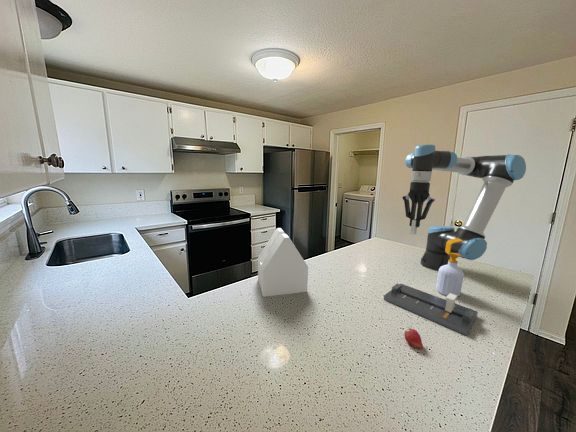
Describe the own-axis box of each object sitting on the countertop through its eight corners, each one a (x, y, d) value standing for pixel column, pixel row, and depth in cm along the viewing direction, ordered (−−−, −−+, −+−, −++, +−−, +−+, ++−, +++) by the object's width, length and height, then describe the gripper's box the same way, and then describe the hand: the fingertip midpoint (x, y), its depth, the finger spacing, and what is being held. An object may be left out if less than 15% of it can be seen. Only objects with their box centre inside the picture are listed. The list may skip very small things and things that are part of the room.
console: (400, 287, 107) (401, 279, 107) (476, 316, 87) (478, 306, 86) (383, 299, 97) (384, 290, 96) (466, 335, 77) (468, 324, 76)
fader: (447, 306, 89) (449, 292, 88) (454, 308, 87) (457, 295, 86) (443, 310, 86) (445, 297, 85) (451, 313, 84) (453, 300, 83)
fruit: (416, 352, 69) (418, 337, 68) (399, 339, 74) (401, 325, 73) (426, 348, 71) (428, 334, 70) (409, 335, 76) (411, 322, 75)
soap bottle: (464, 298, 99) (474, 243, 94) (440, 295, 101) (449, 241, 96) (454, 288, 108) (463, 237, 103) (432, 286, 110) (440, 235, 105)
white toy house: (263, 296, 97) (263, 238, 92) (258, 280, 111) (258, 228, 106) (307, 291, 102) (309, 236, 97) (296, 276, 116) (298, 227, 111)
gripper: (401, 180, 105) (395, 231, 110) (434, 182, 95) (426, 238, 100) (408, 180, 110) (402, 229, 115) (440, 182, 100) (431, 235, 105)
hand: (413, 233), depth 107 cm, fingers closed
